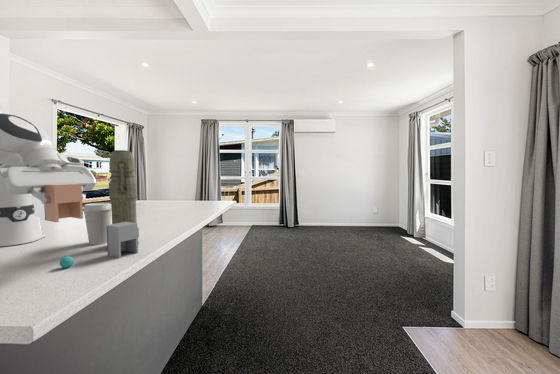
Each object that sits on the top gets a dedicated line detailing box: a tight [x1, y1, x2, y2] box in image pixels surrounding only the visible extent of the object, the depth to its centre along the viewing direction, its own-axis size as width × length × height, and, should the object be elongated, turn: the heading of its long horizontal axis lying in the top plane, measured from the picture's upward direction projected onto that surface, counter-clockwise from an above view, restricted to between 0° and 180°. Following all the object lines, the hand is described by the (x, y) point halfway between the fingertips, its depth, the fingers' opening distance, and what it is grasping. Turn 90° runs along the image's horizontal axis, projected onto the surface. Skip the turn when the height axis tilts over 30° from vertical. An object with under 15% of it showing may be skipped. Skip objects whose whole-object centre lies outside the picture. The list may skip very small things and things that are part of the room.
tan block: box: [43, 184, 84, 223], centre depth 74 cm, size 6×6×10 cm
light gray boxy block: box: [106, 222, 139, 259], centre depth 87 cm, size 6×6×10 cm
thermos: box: [108, 149, 140, 244], centre depth 97 cm, size 9×12×35 cm
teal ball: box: [59, 255, 75, 269], centre depth 75 cm, size 3×3×3 cm
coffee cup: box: [83, 202, 112, 246], centre depth 101 cm, size 10×10×15 cm
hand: (64, 200), depth 74 cm, fingers closed on tan block, 6 cm apart
